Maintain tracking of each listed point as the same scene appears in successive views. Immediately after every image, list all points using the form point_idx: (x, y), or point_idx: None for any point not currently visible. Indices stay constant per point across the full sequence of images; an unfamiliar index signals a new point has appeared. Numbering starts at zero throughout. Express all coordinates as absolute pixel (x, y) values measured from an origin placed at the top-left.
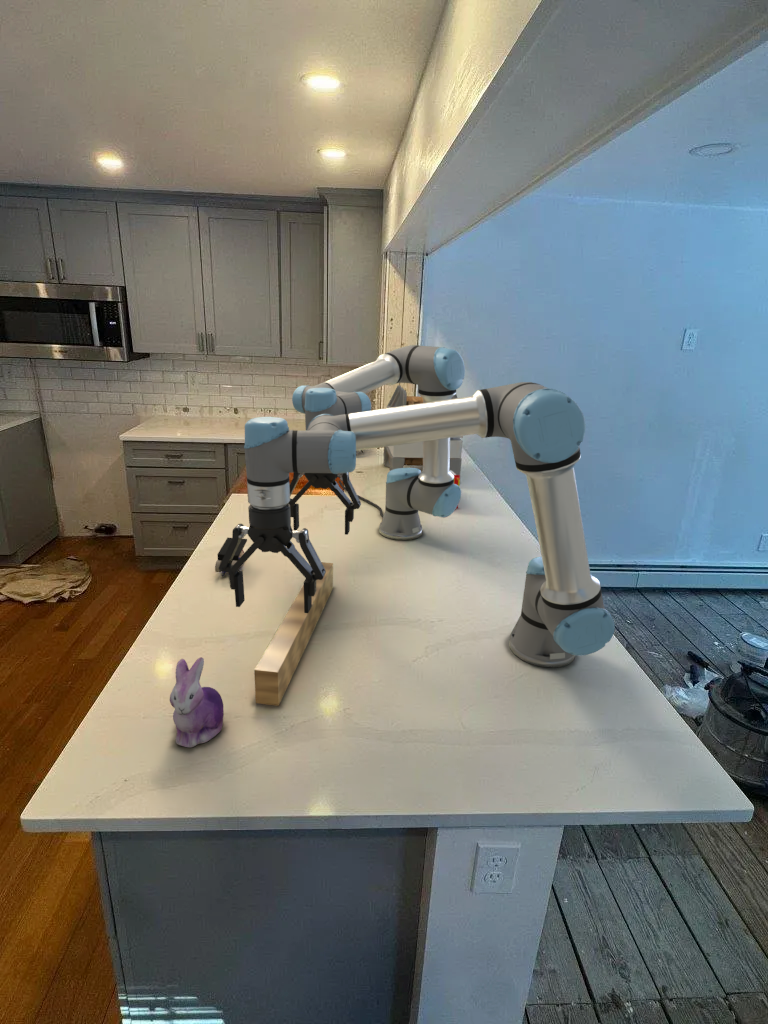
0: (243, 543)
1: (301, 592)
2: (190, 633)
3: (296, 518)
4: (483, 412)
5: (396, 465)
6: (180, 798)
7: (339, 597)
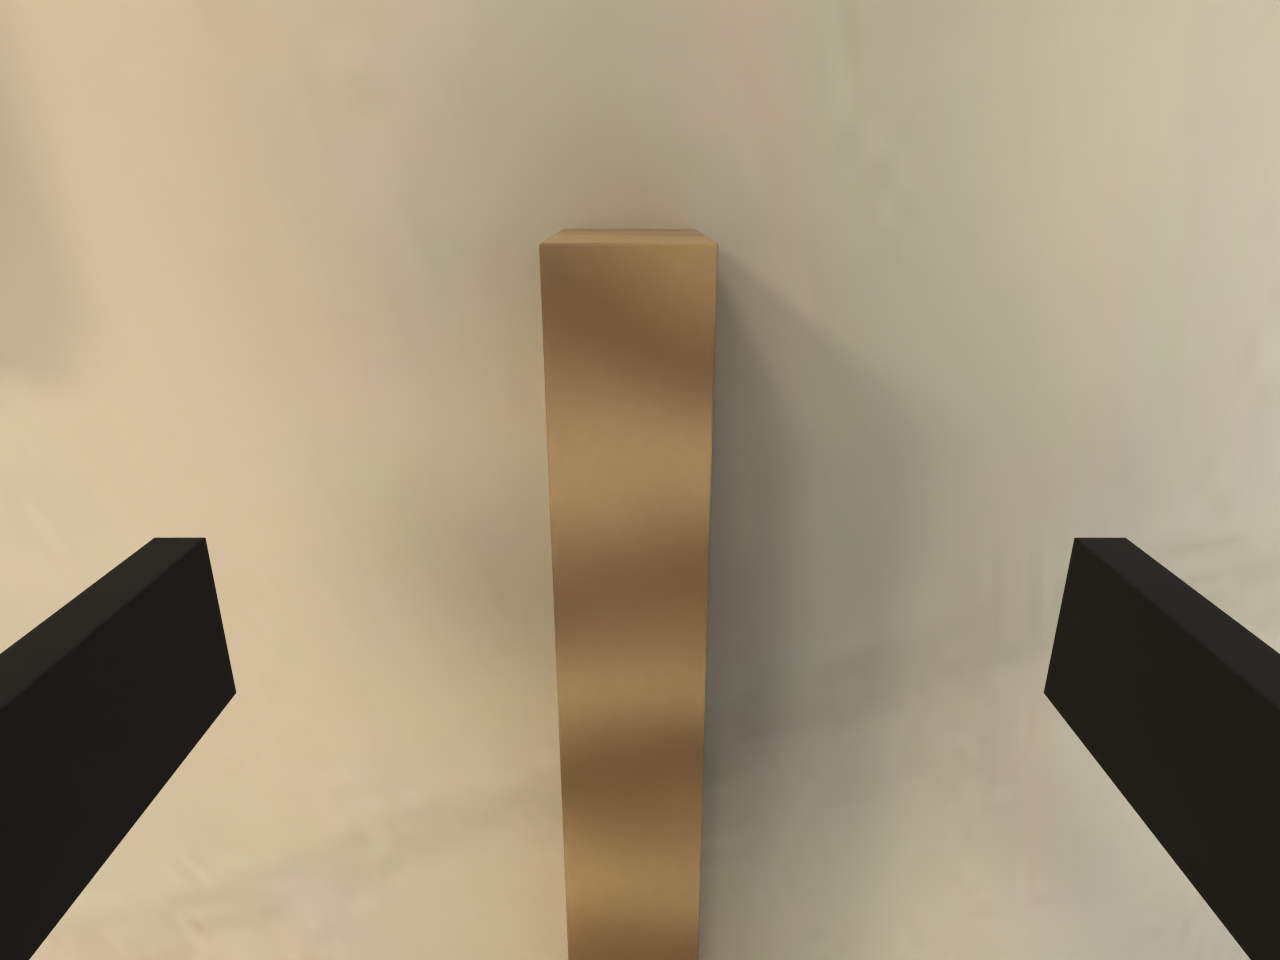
0: None
1: (582, 809)
2: None
3: (108, 828)
4: None
5: None
6: None
7: (770, 360)
